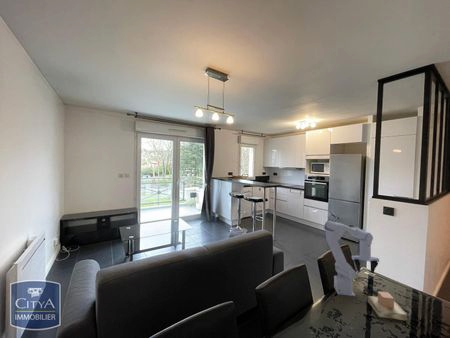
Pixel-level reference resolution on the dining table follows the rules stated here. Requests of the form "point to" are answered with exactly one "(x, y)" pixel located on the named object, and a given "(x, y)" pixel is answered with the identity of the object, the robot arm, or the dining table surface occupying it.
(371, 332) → the dining table surface
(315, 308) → the dining table surface
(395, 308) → the birch base
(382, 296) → the terracotta cube
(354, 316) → the dining table surface
